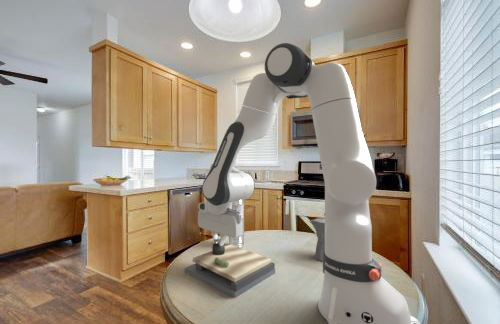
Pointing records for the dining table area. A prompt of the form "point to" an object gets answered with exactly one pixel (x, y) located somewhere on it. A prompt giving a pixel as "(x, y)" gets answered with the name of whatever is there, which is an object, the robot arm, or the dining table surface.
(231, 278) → the plate
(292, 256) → the dining table surface
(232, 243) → the water bottle
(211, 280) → the base
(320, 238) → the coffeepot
